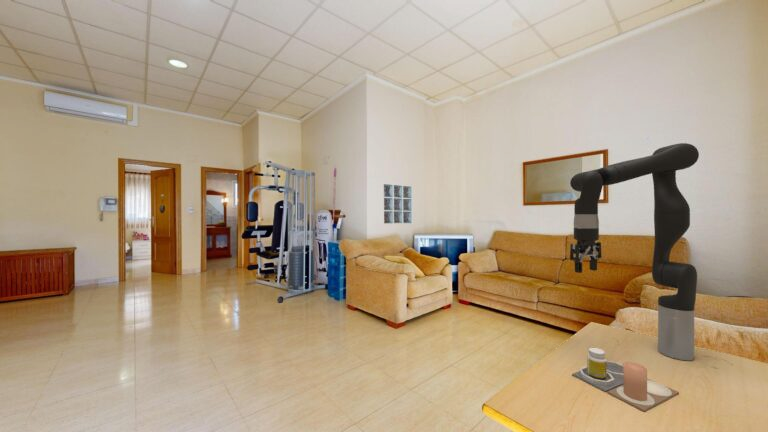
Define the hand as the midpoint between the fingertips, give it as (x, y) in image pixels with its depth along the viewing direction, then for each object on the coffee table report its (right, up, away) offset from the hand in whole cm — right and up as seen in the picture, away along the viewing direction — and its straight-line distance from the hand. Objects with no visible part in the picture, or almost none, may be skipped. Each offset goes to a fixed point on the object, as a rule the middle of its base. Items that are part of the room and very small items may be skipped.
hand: (586, 271), depth 105 cm
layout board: (-2, -30, -19) cm, 36 cm away
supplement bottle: (-8, -30, -16) cm, 35 cm away
